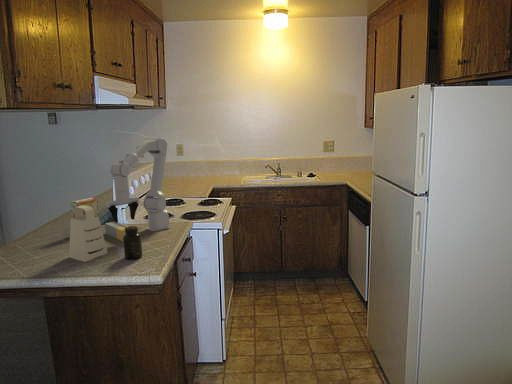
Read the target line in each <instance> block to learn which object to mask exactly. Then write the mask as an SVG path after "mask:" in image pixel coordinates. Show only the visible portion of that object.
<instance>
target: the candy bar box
mask: <svg viewBox="0 0 512 384" xmlns="http://www.w3.org/2000/svg"><path fill="white" fill-rule="evenodd" d="M70 205H71V213H72V215H71V216H72V218H75V212H74V209H75V207H78V206H83V205H85V206H91V207H93V209H94V216H98V217H99V218H100V216H99V205H98V198H97V197H88V198H83V199H79V200H78V199H77V200H73V201H70ZM83 215H86V213H85V210H84V209H83ZM97 228H98V227H97ZM92 230H96V229H94V228H93V229H92Z"/></svg>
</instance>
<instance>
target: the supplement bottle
mask: <svg viewBox="0 0 512 384" xmlns="http://www.w3.org/2000/svg"><path fill="white" fill-rule="evenodd" d="M125 233H126V234H125V235H124V236H123V244H124V247H123V252H124V258H125V260H129V261H132V260H137V259H141V258H142V257H143V244H142V243H143V242H141V237H142V235H141V233H139V227H138V226H136V225H132V226H130V225H129V226H128V227H126V228H125Z"/></svg>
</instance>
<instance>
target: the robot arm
mask: <svg viewBox="0 0 512 384" xmlns="http://www.w3.org/2000/svg"><path fill="white" fill-rule="evenodd" d="M167 149H168V142H167V141H166V139H165V138H164V137H163V136H162V137H145V138H144V139H143V140H141V144H140V145H139V146H138V147H137V148H136V149H135V150H134V151H133V152H127V153H126V154H125V156H124V157H123V158H122V159H119V161H118V162H114V163H113V164H112V165H111V167H110V169H109V172H110V174H111V176H112V179H113V182H114V183H113V184H114V192H115V193H114V194H115V200H112V201H107V202H105V208H107V209H108V210H109V212H110V214H111V216H112V219H113V222H115V223H119V217H118V209H119V208H118V206H123V205H125V206H126V205H128V207H129V213H130V214H129V216H130V219H131V220H135V217H136V214H137V213H136V212H137V210H138V207H139V203H140V197H132V198H131V197H130V187H129V176H130V174H131V171H132V169H133V168H134V167H135V166H136V165H137V164H139V159H140V158H141V157H143V156H144V155H145V154H146V153H149V154H150V155H151V156H152V157H153V166H152V174H151V179H150V189H149V191H148V192H147V193H145V195H144V196H145V198H144V199H143V201H142V202H143V203H142V205H143V208H144V209H145V211H146V212H147V223H148V224H147V225H148V226H147V227H145V229H146V230H149V231H151V232H157V231H161V230H167V229H170V228H171V226H170V217H169V216H170V215H169V211H168V210H167V209H166V207H167V202H166V199H167V196H166V195H165V194H164V192H162V191H163V186H164V185H163V184H164V183H163V182H164V175H165V169H166V158H167Z"/></svg>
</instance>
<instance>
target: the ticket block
mask: <svg viewBox="0 0 512 384" xmlns="http://www.w3.org/2000/svg"><path fill="white" fill-rule="evenodd" d="M123 226H126V225H125V224H123V223H120V222H118V223H115V222H114V221H110V222H105V223H104V228H105V229H104V230H105V234H107V235H110V236H112V237H114V238H116V239H117V234H116V228H118V227H123Z"/></svg>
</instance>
